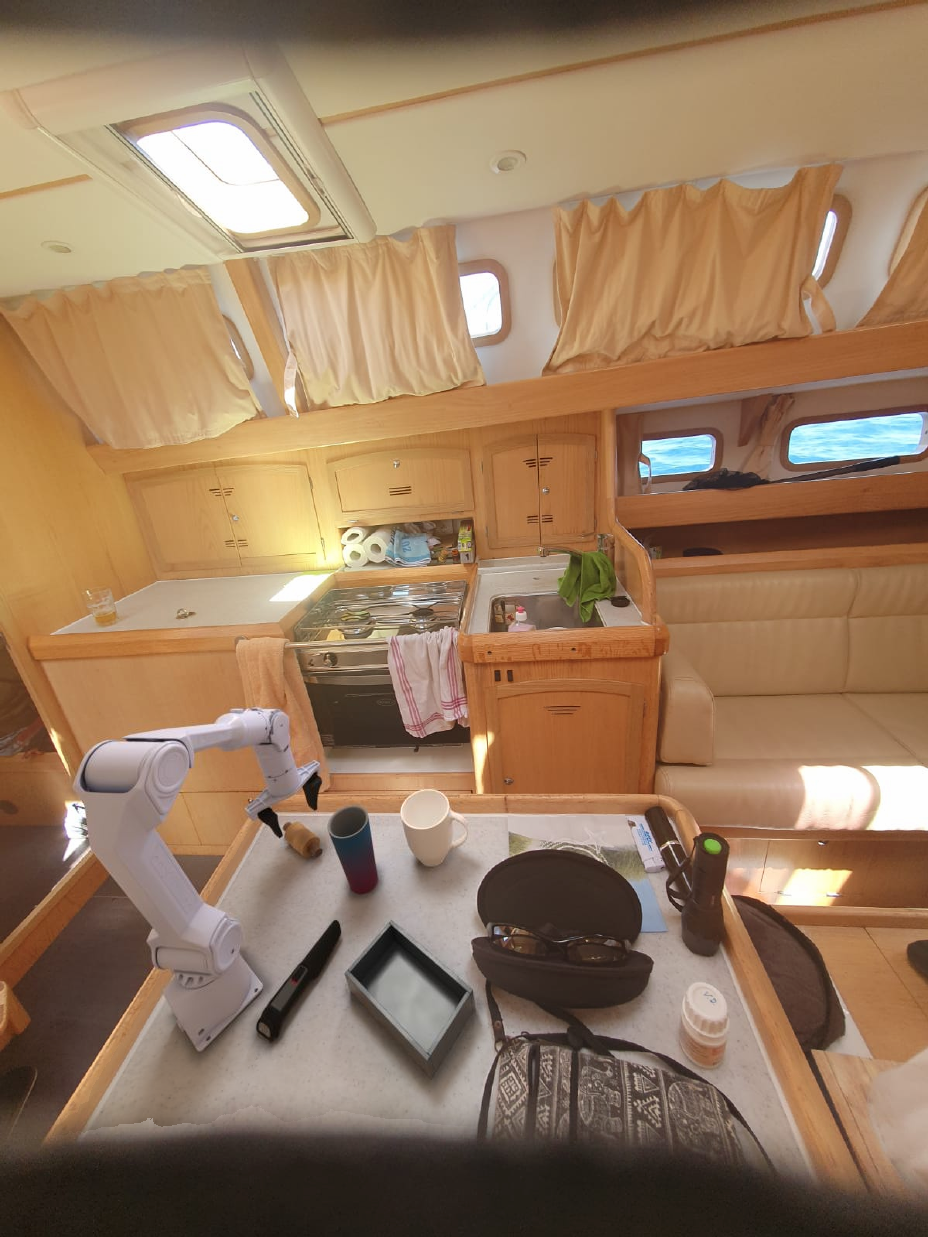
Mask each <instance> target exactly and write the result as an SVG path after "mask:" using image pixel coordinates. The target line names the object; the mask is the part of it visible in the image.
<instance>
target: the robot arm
mask: <svg viewBox="0 0 928 1237" xmlns="http://www.w3.org/2000/svg"><path fill="white" fill-rule="evenodd" d="M290 725H291V724H290V716H289V715H288V714H286V712H284V711H282V709H280V708H261V707H251V708H246V709H245V710H244V708H230V709H229V713H224V714H222V715H220V716H219V717H218V718H216V720H215V721H214V723H210V724H199V725H191V726H181V727H179V726H178V727H170V728H161V729H157V730H155V729H154V730H150V731H144V732H137V733H132V734H128V735H124V736H122V737H121V739H123V740H125V741H121V740H117V739H107V740H103V741H101V742H98V743H96V744H94V745H93V746H92V747H91V748H90V749H89V750H88V751H87V752H86V754H85V755H84V757H83V758H82V760H81V762H80V764H79V767H78V769H77V772H76V775H75V777H74V781H73V784H72V786H71V789H72V790H73V791H74V792H75V794H76V795H77V796H78V798H79V799H80V800H81V802H82V803H83V806H84V814H85V821H86V828H87V836H88V837H87V838H88V844H89V848H90V850H91V851H92V853H93V854H94V856H95V857H96V859H97V860H98V861H99V862H100V863H101V865H102V867H103V868H104V869H105V870H106V872H108V873H109V875H110V876H111V878H113V880H114V881H115V883H116V884H117V885H118V886H119V887H120V888H121V890H122V891H123V893H125V895H126V896H127V897H128V899H129V901H131V902H132V903H133V905H134V906H135V907H136V909H137V910H138V912H140V914H141V915H142V917H143V918H144V919H145V920H146V921H147V922H148V924H149V925H150V927H152V928H151V930H150V932H149V934H148V936H147V938H146V944H147V945H148V946H149V948H150V950H151V951H150V952H151V962H152V965H153V967H154V968H155V969H157V970H161V971H163V970H170V972H171V973H172V975H174V976H173V977H172V979H171V980H170V981H169V982H168V983H167V984H166V986H164V987H163V989H162V990H161V992H162V994H163V996H164V998H165V1000H166V1002H167V1003H168V1005H169V1007H170V1009H171V1010H172V1012H173V1014H174V1015H175V1017H176V1018H177V1019H176V1020H175V1022H176V1024H177V1025H178V1028H179V1030H180V1031H181V1033H184V1032H185V1033H186V1034H187V1036H188V1038H189V1039H190V1041H191V1043H192V1044H193V1046H194V1047H195V1049H196V1051H197V1052H198V1053H201V1052H203V1051H204V1050H205V1049H206V1048H207V1047H208V1046H209V1045H210V1044H211V1043H212V1042H213V1041H214V1040H215V1039H216V1038H217V1037H218V1036H219V1035H220V1034H221V1033H222V1032H223V1030H225V1029H226V1027H228V1026H229V1025H230V1023H232V1021H234V1020H235V1019H236V1017H238V1015H239V1014H240V1013H242V1011H243V1010H245V1008H246V1007H247V1006H248V1005H249V1004H250V1003H252V1001H253V1000H254V999H255V998H256V997H257V996H258V995H259V994H260V993H261V992H262V991H263V989H264V985H263V983H262V981H261V980H260V978H258V976H257V975H256V973H255V972H254V971H253V970H252V968H251V967H250V966H249V964H248V963H247V962H246V961H245V959H244V957H243V956H242V955H241V953H240V950H241V947H242V944H243V938H244V937H243V926H242V923H241V921H240V920H239V919H237V918H233V917H232V918H230V917H229V916H228V914H227V913H226V912H225V911H223V910H221V909H219V908H216V907H214V906H212V905H210V904H208V903H205V902H204V901H203V898H202V897H201V895H200V894H199V893H198V892H197V889H196V888H195V887H194V885H193V884H192V882H191V880H190V879H189V878H188V876H187V874H186V873H185V872H184V869H183V868H182V867H181V866H180V864H179V862H178V861H177V859H176V858H175V856H174V855H173V853H172V852H171V850H170V849H169V848H168V846H167V845H166V843H165V842H164V840H163V839H162V837H161V835H160V834H159V833H158V831H157V829H156V828H158V827H159V826H161V825H162V824H164V823H165V822H166V820H167V818H168V816H169V814H170V812H171V809H172V808H173V805H174V803H175V802H176V800H177V798H178V795H179V793H180V791H181V789H182V788H183V785H184V783H185V781H186V778H187V775H188V773H189V771H190V770H189V769H193V768H194V765H195V753H199V752H202V751H205V750H210V749H212V748H217V749H218V750H221V751H222V752H226V753H227V752H233V751H237V750H241V749H242V750H243V749H245V748H246V749H247V748H252V750H253V754H254V756H255V759H256V762H257V765H258V767H259V770H260V772H261V775H262V779H263V781H264V784H265V788H264V789H263V791H261V793H260V794H259V795H258V796H256V798H255V799H254V800H252V802H251V803H249V804H248V806H246V807H245V808H244V811H245V814H246V816H247V817H248V818H249V819H250V820H251V821H252V822H255V821H256V820H257V819H258V820H259V821H260V822H262V823H263V824H265V825H266V826H268V827H269V828H270V830H272V832H273V834H274V835H275V836H276V837H277V838H278V839H281V838H282V837H284V834H283V831H282V829H281V827H280V824H279V815H278V813H276V812H275V811H274V810H273V808H271V807H272V806H275V805H277V804H279V803H281V802H284V801H285V800H287V799H290V798H292V797H294V796H295V795H296V794H297V793H298V792H299V791H300V790H301V789H302V791H303V792H304V797H305V800H306V803H307V805H308V807H309V808H310V809H311V810H312V811H314V812H315V811H317V810H318V800H319V793H320V789H321V787H322V785H323V780H322V777H321V776H320V775H319V774H320V773H322V772H323V769H322V765H321V763H320V762H318V761H317V760H315V759H314V760H312V761H311V762H308V763H307V764H305V765H302V766H300V767H298V768H297V764H296V761H295V758H294V754H293V751H292V749H291V746H290V742H291V734H290Z"/></svg>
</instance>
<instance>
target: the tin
mask: <svg viewBox="0 0 928 1237" xmlns="http://www.w3.org/2000/svg"><path fill="white" fill-rule="evenodd" d="M343 974H344V976H345V980H346V983H347V986H348V988H349V991H350V993H351V994H352V995H353V996H354V997H355V998H356V999H357V1000H358V1001H359V1002H360V1004H361V1005H362V1006H363V1007H364V1008H365V1009H366V1010H367V1011H368V1012H369V1014H371V1016H372V1017H373V1018H374V1019H375V1020H376V1022H378V1023H379V1024H380V1026H381V1027H383V1029H384V1030H385V1031H386V1032H387V1033H388V1034H389V1035H390V1036H391V1037H392V1038H393V1040H395V1042H396V1043H397V1044H398V1045H399V1046H400V1047H401V1048H402V1049H403V1050H404V1052H405V1053H406V1054H407V1056H409V1057H410V1058H411V1059H412V1061H414V1062H415V1063H416V1065H418V1067H419V1068H420V1069H421V1070H422V1071H423V1072H424V1073H425V1074H426V1075H427V1077H428V1078H429V1079H431V1080H432V1079H433V1078H434V1077H435V1075H436V1073H437V1072H438V1070H439V1069H440V1068H441V1065H442V1064H443V1062H444V1060H445V1059H446V1057H447V1056H448V1054H449V1052H450V1050H451V1049H452V1047H453V1046H454V1044H455V1042H456V1041H457V1040H458V1038H459V1036H460V1035H461V1033H462V1031H463V1030H464V1029H465V1026H466V1025H467V1024H468V1021H469V1020H470V1018H471V1017H472V1015H473V1014H474V1012H475V1010H476V1002H475V995H474V994H475V993H474V989H473V988H472V987H471V986H470V985H468V984H467V983H466V982H465V981H463V980H462V979H461V978H460V977H459V976H458V975H457V974H455V973H454V972H453V971H452V970H451V969H450V968H448V967H447V965H445V964H444V963H443V962H442V961H440V960H439V959H438V958H437V957H436V956H434V955H433V953H431V952H430V951H429V950H427V949H426V948H425V947H424V946H423V945H422V944H420V943H419V942H418V941H417V940H416V939H415V938H414V937H413V936H411V935H410V934H409V933H408V932H406V930H404V928H402V927H400V926H399V925H398V924H397V923H396V922H395V921H394V920H392V919H390V920H389V921H388V922H387V924H386V925H385V926H384V927H383V928H382V929H381V930H380V932H379V933H377V935H376V937H374V939H373V940H372V941H371V942H370V943H369V944H368V946H366V948H364V950H363V951H362V952H361V953H360V955H359V956H357V958H356V959H355V960H354V962H353V963H351V965H350V966H349V967H348V968H347V969H346V971H345V972H344V973H343Z"/></svg>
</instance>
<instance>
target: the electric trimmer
mask: <svg viewBox="0 0 928 1237" xmlns="http://www.w3.org/2000/svg"><path fill="white" fill-rule="evenodd" d="M341 937H342V927H341V923H340V921H339V920H338V919H333V920H332V921H331V923H330V924H329V925H328V926H327V928H326V929H325V930H324V932H323V933H322V934H321V936H320V937H319V938H318V940H317V941H316V942H315V944H314V945H313V946H312V948H310V950H309V952H307V954H306V955H305V957H304V958H303V959H302V960H301V961H300V962H299V964H297V966H296V967H295V968H294V969H293V970H292V972H291V973H290V974H289V976H288V977H287V978H286V980H284V982H283V983H282V985H281V986H280V987H279V989H278V990H277V991H276V992H275V994H274V995H273V996H272V998H271V999H270V1000H269V1001H268V1003H267V1004H266V1006H265V1007H264V1008H263V1010H262V1012H261V1014H260V1017H259V1019H258V1020H257V1022H256V1025H255V1032H256V1033H257V1034H258V1035H259V1036H260V1037H262V1038H263V1039H264V1040H266V1041H267V1042H268V1043H272V1042H273V1041H274V1040H275V1039H278V1038H279V1035H280V1032H281V1030H282V1025H283V1022H284V1020H285V1019H286V1018H287V1016H288V1015H289V1013H290V1012H291V1010H292V1008H293V1007H294V1006H295V1004H296V1003H297V1002H298V999H299V998H300V997H301V995H302V994H303V992H304V991H305V989H306V987H307V986H308V985H309V983H311V981H313V980H314V979H316V978H318V977H319V975H320V974H321V972H322V971H323V969H324V967H325V965H326V963H327V962H328V960H329V958H330V956H331V954H332V953H333V951H334V949H335V947H336V945H337V944H338V942H339V940H340V938H341Z"/></svg>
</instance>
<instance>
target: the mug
mask: <svg viewBox="0 0 928 1237" xmlns="http://www.w3.org/2000/svg"><path fill="white" fill-rule="evenodd" d="M399 812H400V818H401V823H402V827H403V831H404V832H403V833H404V835H405V839H406V843H407V846H408V848H409V850H410V851H411V853H412V854H413V856H415V857H416V858H417V859H418V860H419V862H420V863H421V864H422V865H424V866H426V867H429V868H434V867H437V866H440V865H441V864H442V863H443V862H444V860H445V859H446V857H447V855H448V853H449V852H450V850H451V849H457V848H459V847H461V846H462V845H463V844H465V843H466V841H467V839H468V834H469V825H468V822H467V820H466V819H465V817H464V816H462V815H461V814H460V813H458V812H455V811H453V810H452V809H451V807H450V802H449V799H448V797H447V796H446V795H445V794H444V793H443V792H441V791H439V790H436V789H430V788H428V789H427V788H425V789H420V790H418V791H415V792H413V793H412V794H410V795H409V796H408V797H407V798H406V799H405V800H403V803H402V805H401V807H400V811H399ZM453 821H456V822H457V823H459V824H461V825H462V826H463V827H464V828H465V831H466V832H465V834H464V835H463V836H462V837H460V838H458V839H456V840H454V826H453Z"/></svg>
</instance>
